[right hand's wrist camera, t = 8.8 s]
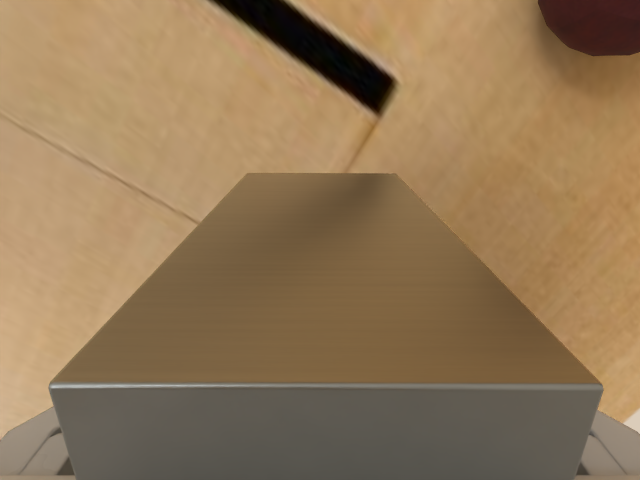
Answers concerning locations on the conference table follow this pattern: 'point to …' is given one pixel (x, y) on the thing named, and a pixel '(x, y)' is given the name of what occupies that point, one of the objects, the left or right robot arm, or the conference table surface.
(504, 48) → the conference table surface
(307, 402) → the box
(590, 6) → the potato
